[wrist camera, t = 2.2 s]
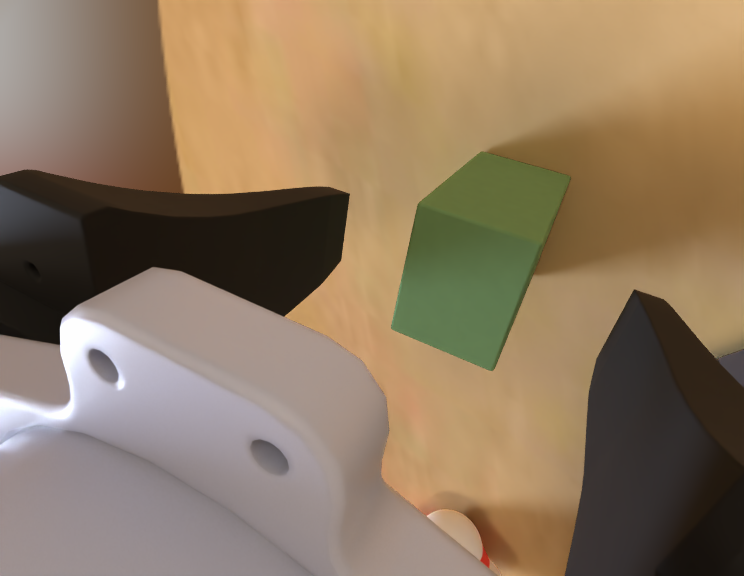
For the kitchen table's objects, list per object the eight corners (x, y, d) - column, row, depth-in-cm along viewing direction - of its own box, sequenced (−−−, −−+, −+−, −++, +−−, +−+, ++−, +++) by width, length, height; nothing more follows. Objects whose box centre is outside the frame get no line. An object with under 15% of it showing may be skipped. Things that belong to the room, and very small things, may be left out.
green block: (531, 278, 16) (492, 373, 12) (453, 250, 17) (389, 330, 12) (572, 175, 14) (543, 244, 10) (481, 149, 15) (416, 202, 11)
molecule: (407, 530, 25) (372, 607, 22) (438, 479, 22) (403, 559, 19) (495, 586, 24) (472, 677, 21) (538, 540, 21) (520, 637, 18)
